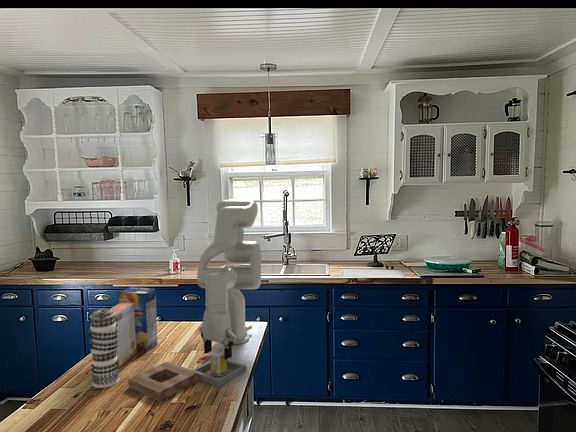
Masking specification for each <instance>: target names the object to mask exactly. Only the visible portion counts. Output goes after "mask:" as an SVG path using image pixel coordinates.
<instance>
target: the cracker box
mask: <svg viewBox="0 0 576 432" xmlns="http://www.w3.org/2000/svg"><path fill="white" fill-rule="evenodd" d="M110 309H111V310H112V311H113V312H115V313H116V314H115V322H116V324H117V325H118V326H116V327H115V329H116V330H118V333H117V335H118V337H117V338H116V340H117V341H118V343H117V345H118V347H117V349H116V351H117V352H116V354H117V359H118V361H119V362H118V365H119V367H118V369H120V368H121V367H122V366H123V365H125V364H126V363H127V362H128V361H129V360H130V359H132V358H133V357H134V356H135V355H136V354H138V353H137V352H138V351H136V334H135V317H134V303H125V302H122V303H120V302H119V303H117V304H116V305H114V306H113V307H111V308H110Z"/></svg>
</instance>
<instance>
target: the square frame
mask: <svg viewBox="0 0 576 432" xmlns="http://www.w3.org/2000/svg"><path fill="white" fill-rule="evenodd" d="M226 364H227V368H229V369H230V368H231V369H234V370H232V371H230V372H229V373H226V374H225V375H223V376H220V378H219V377H216V376H213V375H210V374H209V375H208V374H206V373H205V371H207V370H209V369H211V360H209V361H207V362H205V363H203V364H200V365H198V366H197V367H195V368H192V369H191V370H192V371H195V372H197V373H198V381H202V382H205V383H207V384H210V385H212V386H216V387H219V388H220V387H222V386H223V385H225V384H227V383H229V382H230V381H232V380H234V379H236V378H237V377H239V376H241V375H242V374H244V373H246V372H247V369H248V367H247V366H248V365H246V364H242V363H240V362H236V361H234V360H231V359H227V360H226Z"/></svg>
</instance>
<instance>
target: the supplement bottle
mask: <svg viewBox="0 0 576 432" xmlns="http://www.w3.org/2000/svg"><path fill="white" fill-rule="evenodd" d="M224 348H225V346H224V344H223V343H215V344H212V351H211V352H209V355H210V357H209V358H210V360H211V368H210V374H211V376H212V377H216V378H219V377H223V376H225V375H227V371H228V370H227V368H228V367H227V364H226V360H225V359H224ZM210 360H209V361H210ZM218 376H219V377H218Z"/></svg>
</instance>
